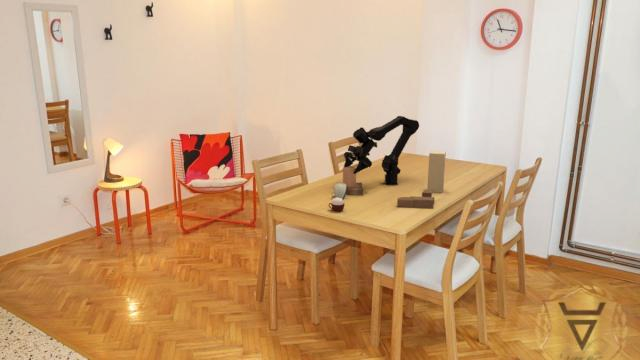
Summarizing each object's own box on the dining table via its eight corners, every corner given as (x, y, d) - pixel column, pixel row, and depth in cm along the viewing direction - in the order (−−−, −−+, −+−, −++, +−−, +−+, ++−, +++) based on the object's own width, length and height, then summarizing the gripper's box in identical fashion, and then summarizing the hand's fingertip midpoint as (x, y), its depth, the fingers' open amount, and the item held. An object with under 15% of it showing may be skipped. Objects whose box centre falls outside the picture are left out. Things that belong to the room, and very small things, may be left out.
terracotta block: (350, 184, 283) (350, 166, 280) (356, 186, 279) (356, 168, 276) (342, 185, 280) (342, 167, 277) (348, 187, 276) (348, 169, 273)
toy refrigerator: (444, 189, 282) (446, 151, 276) (442, 193, 275) (444, 154, 269) (429, 188, 284) (430, 150, 279) (427, 192, 277) (428, 153, 272)
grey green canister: (346, 195, 272) (346, 182, 271) (346, 199, 267) (346, 186, 265) (334, 195, 273) (334, 182, 271) (334, 199, 267) (334, 186, 265)
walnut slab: (362, 187, 287) (362, 182, 286) (363, 195, 273) (363, 189, 272) (336, 187, 287) (336, 182, 286) (336, 195, 274) (336, 189, 273)
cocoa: (327, 211, 249) (325, 187, 246) (333, 207, 254) (332, 183, 251) (344, 213, 244) (343, 189, 241) (351, 209, 250) (349, 185, 246)
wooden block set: (435, 198, 249) (397, 197, 252) (435, 209, 251) (397, 208, 253) (433, 188, 265) (397, 187, 268) (433, 198, 267) (397, 197, 269)
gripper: (346, 136, 283) (329, 159, 280) (367, 142, 268) (350, 166, 265) (357, 149, 289) (341, 171, 286) (379, 155, 274) (362, 178, 271)
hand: (348, 171), depth 277 cm, fingers open, 9 cm apart
